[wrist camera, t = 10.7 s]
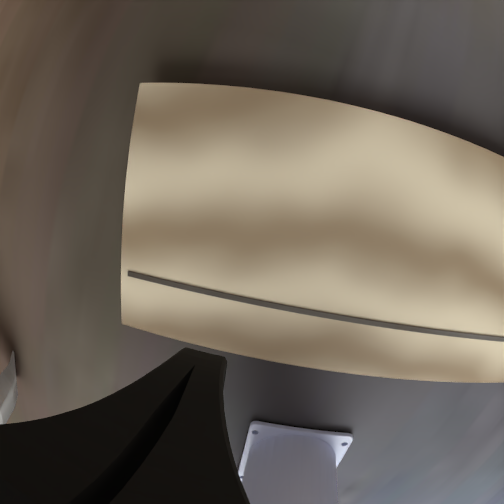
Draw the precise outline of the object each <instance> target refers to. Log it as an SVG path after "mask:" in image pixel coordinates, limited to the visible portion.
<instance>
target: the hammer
mask: <svg viewBox="0 0 504 504" xmlns="http://www.w3.org/2000/svg"><path fill="white" fill-rule="evenodd" d="M17 396H18V391H17V380H16V368H15V357H14V351H12V355H11V359H10V363H9V365H8V366H7V368H6V369H5V370H4V371H3V372H2V373H1V374H0V424H6V422H7V420H8V419H9V417H10V415H11V413H12V412H13V410H14V408H15V405H16V400H17Z"/></svg>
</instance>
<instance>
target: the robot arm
mask: <svg viewBox="0 0 504 504" xmlns="http://www.w3.org/2000/svg"><path fill="white" fill-rule="evenodd" d="M226 368H227V360H226V358H225V357H222V356H218V355H214V354H209V353H205V352H201V351H197V350H193V349H190V348H184V349H182V350H181V351H179V352H178V353H177V354H175V355H174V356H172V357H171V358H170V359H168V360H167V361H165V362H164V363H163V364H161V365H160V366H158V367H157V368H155V369H154V370H152V371H151V372H149V373H148V374H146V375H145V376H143V377H142V378H140V379H138V380H137V381H135V382H133V383H132V384H130V385H128V386H126V387H124V388H123V389H121V390H119V391H117V392H115V393H113V394H111V395H109V396H107V397H105V398H103V399H101V400H99V401H96V402H94V403H92V404H89V405H87V406H84V407H81V408H78V409H75V410H72V411H69V412H65V413H62V414H59V415H55V416H52V417H48V418H43V419H38V420H33V421H27V422H20V423H11V424H0V504H338V490H337V469H336V467H337V466H338V464H339V463H340V461H341V459H342V458H343V456H344V454H345V453H346V451H347V449H348V448H349V446H350V444H351V442H352V441H353V435H352V434H350V433H341V432H331V431H321V430H313V429H305V428H297V427H291V426H284V425H278V424H272V423H266V422H261V421H253V422H251V423H250V427H249V431H248V435H247V439H246V443H245V447H244V451H243V455H242V458H241V462H240V466H239V470H238V471H237V468H236V464H235V461H234V458H233V454H232V450H231V446H230V442H229V437H228V432H227V427H226V420H225V413H224V401H223V388H224V381H225V374H226ZM254 430H256V431H254ZM343 442H345V443H343Z"/></svg>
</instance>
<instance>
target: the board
mask: <svg viewBox="0 0 504 504" xmlns="http://www.w3.org/2000/svg"><path fill="white" fill-rule="evenodd" d="M121 315H122V324H125V325H128V326H131V327H134V328H138V329H141V330H144V331H148V332H151V333H155V334H158V335H162V336H165V337H169V338H173V339H176V340H180V341H184V342H188V343H192V344H196V345H200V346H204V347H208V348H212V349H216V350H221V351H225V352H230V353H234V354H239V355H243V356H248V357H253V358H258V359H263V360H268V361H273V362H279V363H284V364H290V365H296V366H302V367H308V368H314V369H320V370H327V371H334V372H342V373H349V374H357V375H366V376H375V377H385V378H396V379H408V380H422V381H441V382H477V383H494V382H504V157H502V156H500V155H498V154H496V153H494V152H491V151H489V150H487V149H485V148H482V147H480V146H478V145H475V144H473V143H470V142H468V141H465V140H463V139H460V138H458V137H455V136H452V135H450V134H447V133H444V132H442V131H439V130H436V129H433V128H430V127H427V126H424V125H421V124H418V123H415V122H412V121H409V120H405V119H402V118H399V117H395V116H392V115H388V114H385V113H381V112H377V111H373V110H370V109H366V108H362V107H357V106H353V105H349V104H344V103H340V102H335V101H330V100H326V99H320V98H315V97H310V96H304V95H298V94H292V93H286V92H279V91H272V90H264V89H256V88H247V87H237V86H225V85H211V84H193V83H140V86H139V92H138V97H137V103H136V108H135V114H134V121H133V127H132V134H131V141H130V149H129V157H128V165H127V175H126V185H125V197H124V210H123V226H122V250H121Z"/></svg>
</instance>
